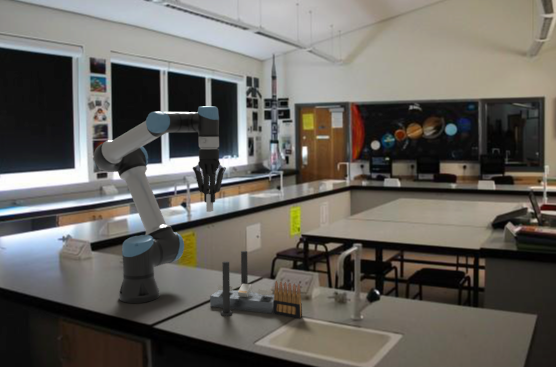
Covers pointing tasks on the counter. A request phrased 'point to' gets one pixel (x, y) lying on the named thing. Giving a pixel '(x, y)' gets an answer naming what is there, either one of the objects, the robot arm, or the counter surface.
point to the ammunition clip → (287, 301)
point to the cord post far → (244, 268)
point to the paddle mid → (245, 290)
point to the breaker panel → (244, 301)
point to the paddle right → (265, 292)
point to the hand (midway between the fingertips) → (209, 211)
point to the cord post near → (226, 290)
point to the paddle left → (220, 287)
